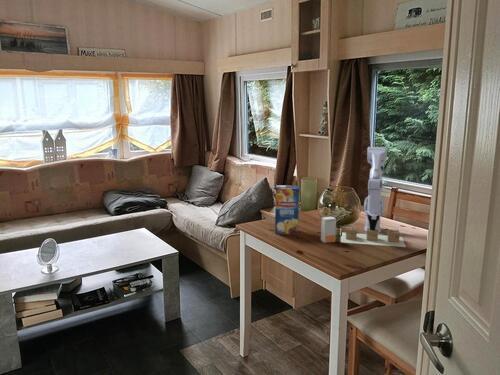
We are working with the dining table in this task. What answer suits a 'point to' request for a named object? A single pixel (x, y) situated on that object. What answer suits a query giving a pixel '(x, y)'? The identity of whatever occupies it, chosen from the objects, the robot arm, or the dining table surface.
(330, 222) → the skincare box
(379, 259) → the dining table surface
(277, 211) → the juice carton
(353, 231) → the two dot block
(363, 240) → the sage mat
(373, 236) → the plain block
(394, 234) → the one dot block
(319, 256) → the dining table surface
